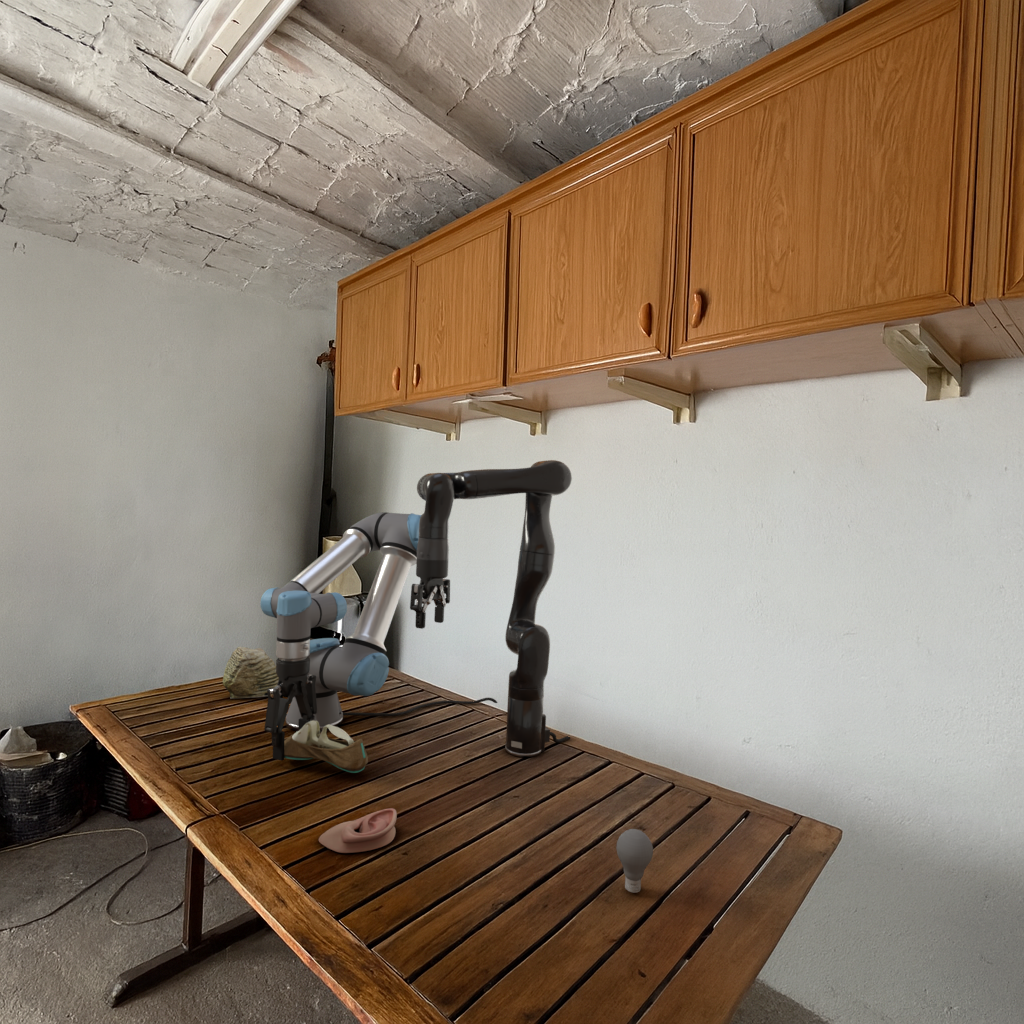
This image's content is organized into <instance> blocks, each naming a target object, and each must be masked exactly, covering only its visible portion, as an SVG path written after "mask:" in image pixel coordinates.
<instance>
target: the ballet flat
mask: <svg viewBox="0 0 1024 1024" xmlns="http://www.w3.org/2000/svg"><path fill="white" fill-rule="evenodd" d="M327 728H328V729H329V730H327ZM327 731H329V732H330V733H331V734H332V735H334V736H335V737H336V738H339V739H336V738H332V737H328V735H327ZM340 739H341V740H340ZM284 759H288V760H296V761H309V760H314V759H315V760H316V759H317V760H321V761H324V762H326V763H328V764H330V765H332V766H333V767H335V768H337V769H339V770H342V771H344V772H347V773H351V774H357V773H360V772H362V771H364V770H365V768H366V766H367V764H368V762H369V757H368V753H367V751H366V748H365V744H364V741H363V738H358V739H357V740H354V739H353V738H352V737H351V736H350V735H349V734H348V732H346V731H345V730H344V729H342V728H340V727H339V726H337V727H335V726H332V725H330V724H328V725H326V726H324V728H323V730H322V731H320V727H319V723H318V721H314V720H313V721H310V722H308V723H306V724H305V725H304V726H303V727H302V728H301V729H300V730H299V731H296V732H294V733H293V734H291V735H290V736H289V737H287V738H285V740H284Z"/></svg>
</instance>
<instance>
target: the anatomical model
mask: <svg viewBox="0 0 1024 1024" xmlns="http://www.w3.org/2000/svg"><path fill="white" fill-rule="evenodd" d="M397 816H398V813H397V810H396V809H395V808H392V807H390V808H384V809H380V810H377V811H374V812H371V813H369V814H366V815H364V816H362V817H360V818H357V819H354V820H348V821H343V822H341V823H339V824H335V825H334V826H332V827H330V828H328V830H326V831H324V832H323V833H322V834H321V835H320V836H319V837H318V842H319V843H320V844H321V845H322V846H324V847H325V848H327V849H329V850H332V851H333V852H336V853H339V854H351V853H361V852H367V851H372V850H376V849H380V848H382V847H385V846H387V845H389V844H390V843H392V842H393V840H394V839H395V837H396V833H397V832H396V827H395V825H396V823H397V818H398V817H397Z"/></svg>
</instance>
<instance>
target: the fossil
mask: <svg viewBox="0 0 1024 1024" xmlns="http://www.w3.org/2000/svg"><path fill="white" fill-rule="evenodd" d="M222 676H223V677H222V685H223V687H224V688H225V690H226V691H228V693H229V698H230V699H250V698H264V697H268V694H267V690H268V688H274V687H276V686H277V683H278V680H279V677H278V675H277V674H276V663H275V662H274V660H273V659H272V658H271V657H270V656H269V655H268V654H267V653H266V652H265V650H264V649H263V648H260V647H258V648H251V647H247V646H246V647H245V646H238V647H237V648H236V649H235V650H233V651H232V653H231V656H230V657H229V659H228V660H227V663H226V666H225V668H224V671H223V675H222Z"/></svg>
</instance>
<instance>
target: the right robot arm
mask: <svg viewBox="0 0 1024 1024" xmlns="http://www.w3.org/2000/svg"><path fill="white" fill-rule="evenodd" d="M571 471H572V470H571V469H570V468H569V466H568V465H567V464H565V462H563V461H561V460H560V461H559V460H556V459H550V460H540V461H536V462H534V463H533V464H532V465H531V466H530V467H521V468H486V469H483V468H482V469H472V470H464V471H458V472H429V473H426V474H424V475H423V476H421V477H420V478H419V480H418V482H417V484H416V491H417V494H418V496H419V497H420V499H422V500H423V501H425V503H424V504H425V505H424V511H423V513H422V514H420V515H421V517H420V521H419V539H418V545H417V562H416V564H415V575H416V577H418V578H419V579H420V581H419V583H412V584H411V587H410V589H411V590H410V603H409V609H410V610H411V611H414V612H415V622H414V623H415V628H416V629H421V630H423V629H425V628H426V618H427V615H426V614H427V608H428V606H429V605H431V603H432V602H433V603H434V605H435V607H434V618H433V619H434V623H436V624H437V623H438V624H442V623H444V622H445V621H444V620H445V619H444V618H445V608H446V606H447V604H450V603H451V579H449V578H448V576H449V560H450V559H449V557H450V546H449V544H450V543H449V533H450V517H451V514H452V509H453V506H454V501H455V500H476V499H477V500H479V499H487V498H488V499H489V498H495V497H501V496H502V497H503V496H510V495H519V494H525V503H524V504H525V505H524V507H525V508H524V517H523V525H522V533H521V541H520V545H519V546H520V547H519V553H518V561H517V570H516V579H515V585H514V592H513V599H512V603H511V608H510V612H509V617H508V621H507V625H506V630H505V639H504V640H505V644H506V647H507V649H508V650H509V652H511V653H512V654H515V655H516V656H517V664H516V669H515V668H514V669H512V670H511V671H510V672H509V674H508V685H507V688H508V689H507V711H506V730H505V731H506V733H505V746H504V747H505V748H504V749H505V752H506V753H507V754H509V755H512V756H513V757H514V756H515V757H519V758H531V757H535V756H536V757H537V756H539V755H540V754H541V753H545V749H546V748H545V747H546V743H550V742H551V737H552V740H553V742H554V743H556V744H561V743H564V742H567V741H569V740H571V736H570V737H568V736H569V735H566V736H564V737H562V738H557V735H556V733H554V732H553V731H551V729H550V728H548V727H547V725H546V724H547V715H546V713H544V696H545V680H546V677H547V675H548V672H549V663H550V656H551V637H550V634H549V631H548V629H547V628H546V627H544V626H543V625H541V624H539V623H536V615H537V609H538V608H537V607H538V603H539V601H540V598H541V595H542V594H543V592H544V590H545V588H546V587H547V585H548V584H549V581H550V580H551V578H552V575H553V571H554V566H555V565H554V564H555V559H556V558H555V557H556V542H555V535H554V532H553V531H554V530H553V528H552V524H551V507H552V501H553V500H552V499H553V497H556V496H559V495H562V494H564V493H565V492H566V491H568V490H569V488H570V487H571V484H572V480H573V475H572V472H571Z"/></svg>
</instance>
